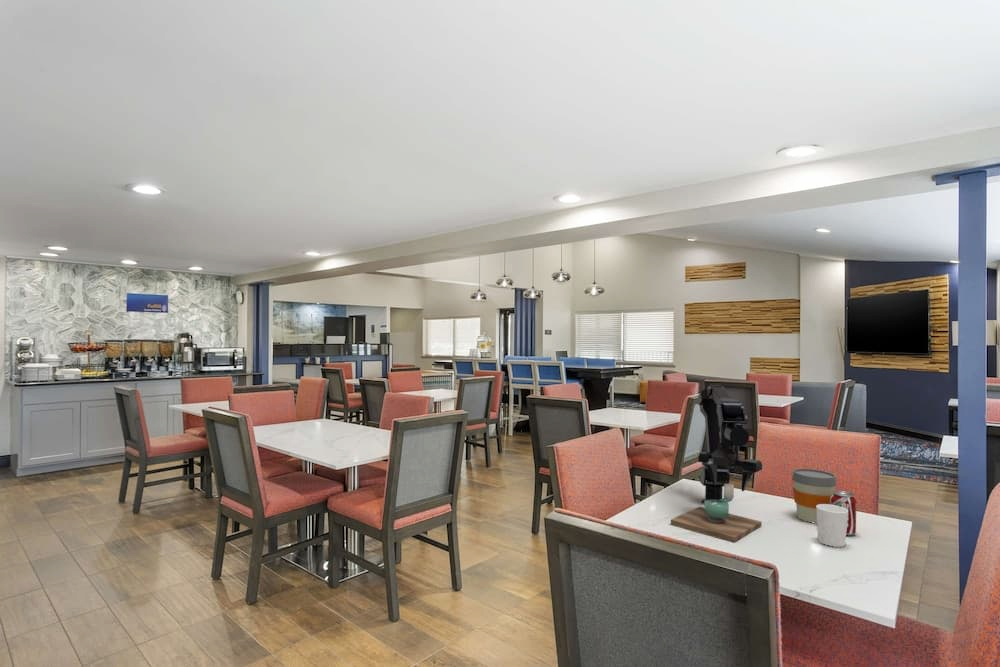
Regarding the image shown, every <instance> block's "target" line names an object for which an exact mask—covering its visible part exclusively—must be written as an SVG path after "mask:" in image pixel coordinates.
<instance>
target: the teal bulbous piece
mask: <svg viewBox="0 0 1000 667" xmlns="http://www.w3.org/2000/svg"><path fill="white" fill-rule="evenodd" d="M734 488H735V485H734V484H733V483H729V484H724V487H723V497H722V499H720V500H705V502H704V505H703V507H704V513H705V514H706V515H708V516H711V517H716V518H726V517H728V514H730V513H729V511H730V510H729V508H730V507H729V506H730V504H729V502H732V501H733V499H734V494H735V493H734V492H735V491H734V490H735V489H734Z"/></svg>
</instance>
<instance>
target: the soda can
mask: <svg viewBox="0 0 1000 667" xmlns="http://www.w3.org/2000/svg"><path fill="white" fill-rule="evenodd" d="M830 505H836V506H840V507H843V508H845V509H847V510H848V520H847V532H846V535H851V536H853V535H855V534H856V533H857V500H856V498H855V494H854V493H852V492H849V491H844V490H834V491H833V495H832V496H831V497H830Z"/></svg>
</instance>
